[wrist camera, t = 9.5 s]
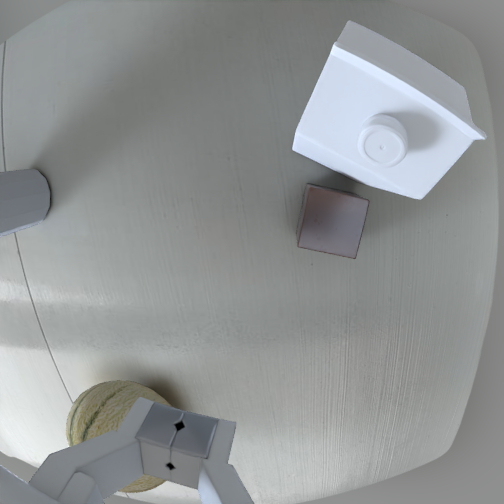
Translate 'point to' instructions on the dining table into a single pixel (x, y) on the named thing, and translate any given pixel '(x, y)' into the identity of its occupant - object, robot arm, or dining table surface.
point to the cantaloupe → (109, 418)
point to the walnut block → (331, 221)
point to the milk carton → (385, 116)
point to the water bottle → (22, 200)
